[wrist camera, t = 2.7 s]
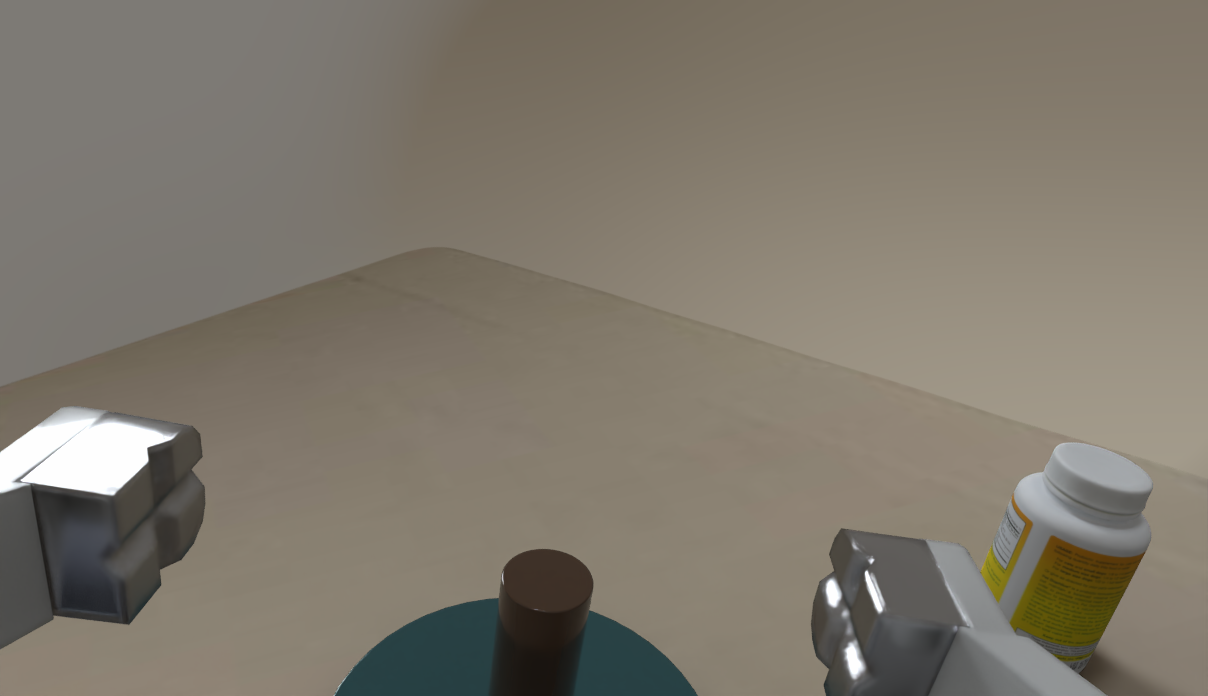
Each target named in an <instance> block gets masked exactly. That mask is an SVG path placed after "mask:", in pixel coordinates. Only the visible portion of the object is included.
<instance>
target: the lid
mask: <svg viewBox="0 0 1208 696" xmlns="http://www.w3.org/2000/svg"><path fill="white" fill-rule="evenodd" d="M592 592H593V578H592V575H591V573H590V571H589V570H588V568H587V567H586V566H585V565H584V564H583V563H582V562H581V561H580V560H578V559H577V558H575V557H573V556H571V555H569V554H567V553H564V552H561V551H557V550H551V549H536V550H530V551H526V552H523V553H521V554H518V555H517V556H515V557H513V558H512V559H511V560H510V561H509V562H508V563H507V564H506V566H505V567H504V569H503V571H502V576H501V584H500V593H499V598H494V599H485V600H478V601H472V602H466V603H462V604H458V605H455V606H451V607H447V608H444V609H441V610H439V611H436V612H433V613H430V614H428V615H425V616H423V617H421V618H419V619H417V620H415V621H413V622H411V623H409V624H407V625H405V626H403V627H402V628H400V629H399V630H397V631H395V632H394V633H392V634H391V635H389V636H387V637H386V638H385V639H384V640H382V641H381V642H380V643H379V644H377V645H376V646H375V647H374V648H372V649H371V650H370V651H369V652H368V653H367V654H366V655H365V656H364V657H363V658H362V659H361V660H360V661H359V662H358V663H357V664H356V665H355V666H354V667H353V668H352V670H351V671H350V672H349V674H348V675H347V676H346V677H345V679H344V680H343V681H342V683H341V684H340V685H339V687H338V689H337V690H336V692H335V694H334V696H697V694H696V692H695V690H694V689H693V688H692V686H691V685H690V684H689V682H688V681H687V680H686V678H685V677H684V675H683V674H682V673H681V672H680V671H679V670H678V669H677V667H676V666H675V665H674V664H673V663H672V662H671V661H670V660H669V659H668V658H667V657H666V656H665V655H664V654H663V653H661V652H660V651H659V650H658V649H657V648H656V647H654V646H653V645H652V644H651V643H650V642H648V641H647V640H645V639H644V638H642V637H641V636H639V635H638V634H637V633H635V632H634V631H632V630H630V629H629V628H627V627H625V626H623V625H621V624H619V623H618V622H616V621H614V620H612V619H609V618H607V617H605V616H602V615H600V614H598V613H595V612H593V611H590V610H589V609H590V604H591V598H592Z"/></svg>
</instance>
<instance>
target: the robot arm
mask: <svg viewBox="0 0 1208 696" xmlns="http://www.w3.org/2000/svg"><path fill="white" fill-rule="evenodd" d="M202 457H203V456H202V446H201V437H200V433H199V432H198V431H197V430H196V429H195V428H194V427H193V426H189V425H183V424H178V423H172V422H167V421H161V420H155V419H150V418H144V417H138V416H133V415H127V414H121V413H116V412H115V413H112V412H109V411H104V410H98V409H91V408H84V407H78V406H72V407H62V408H61V409H60V410H58V411H57V412H56V413H54V414H53V415H51V416H50V417H49V418H47V419H46V420H44V421H43V422H42V423H40V424H39V425H38V426H36V427H35V428H33V429H32V430H31V431H29V432H28V433H27V434H25V435H24V436H22V437H21V438H20V439H18V440H17V441H15V442H14V443H13V444H11V445H10V446H9V447H7V448H6V449H4V450H3V451H2V452H0V649H2V648H3V647H5V646H7V645H9V644H11V643H12V642H14V641H16V640H18V639H19V638H21V637H23V636H25V635H27V634H28V633H30V632H32V631H34V630H35V629H37V628H39V627H41V626H43V625H44V624H46V623H48V622H50V621H51V620H53V618H54V617H53V615H54V616H62V617H70V618H78V619H86V620H95V621H103V622H111V623H119V624H128V625H129V624H130V623H131V622H132V621H133V619H134V618H135V617H136V616H137V614H138V613H139V612H140V611H141V609H142V608H143V607H144V606H145V604H146V603H147V602H148V601H149V600H150V598H151V597H152V596H153V595H154V593H155V592H156V591H157V590H158V588H159V587H160V586H161V576H160V569H163V568H165V567H167V566H169V565H171V564H173V563H176V562H178V561H180V560H182V558H183V557H184V556H185V554H186V553H187V552H188V550H189V549H190V548H191V546H192V545H193V544H194V542H195V539H196V537H197V534H198V532H199V529H200V527H201V524H202V522H203V516H204V509H205V486H204V485H203V484H202V483H201V481H200V480H199V479H198V478H197V476H196V475H195V474H194V472H193V471H192V470H191V469H192V468H193V467H194V466H195V465H196V464H197V462H198V461H199V460H200V459H201V458H202ZM829 555H830V558H831V562H832V565H833V568H834V571H833V572H832V573H831V574H829V575H828V576H827V577H825V578H824V579H822V580H821V581H820V582H819V585H818V588H817V592H816V595H815V598H814V602H813V610H812V620H811V629H812V641H813V645H814V649H815V653H816V657H817V658H818V659H819V660H820V661H821V662H822V663H823V664H824V665H825V666H826V667H827V668H828V669H829V671H828V674H827V677H826V680H825V683H824V689H825V693H826V696H1107V695H1106V694H1105V693H1103V692H1102V691H1101V690H1099V689H1098V688H1097V687H1095V686H1094V685H1093V684H1091V683H1090V682H1089V681H1087V680H1086V679H1084V678H1083V677H1082V676H1080V675H1079V674H1078V673H1076V672H1075V671H1074V670H1072V669H1071V668H1070V667H1068V666H1067V665H1066V664H1064V663H1063V662H1062V661H1060V660H1059V659H1058V658H1056V657H1055V656H1053V655H1052V654H1051V653H1049V652H1048V651H1047V650H1045V649H1044V648H1043V647H1041V646H1040V645H1039V644H1037V643H1036V642H1035V641H1033V640H1032V639H1031V638H1029V637H1023V636H1017V635H1016V633H1015V632H1014V630H1013V628H1012V626H1011V625H1010V623H1009V621H1008V620H1007V618H1006V616H1005V614H1004V613H1003V611H1002V609H1001V607H1000V606H999V604H998V602H997V601H996V599H995V597H994V595H993V594H992V592H991V590H990V588H989V587H988V585H987V583H986V581H985V580H984V578H983V576H982V575H981V573H980V571H979V569H978V568H977V566H976V564H975V562H974V561H973V559H972V557H971V556H970V554H969V552H968V550H967V549H966V548H964V547H963V546H962V545H960V544H959V543H952V542H944V541H935V540H927V539H913V538H906V537H899V536H892V535H885V534H878V533H871V532H863V531H856V530H849V529H842V528H841V530H840V531H839V533H838V534H837V535H836V537H835V539H834V542H833V544H832V547H831V550H830V553H829Z"/></svg>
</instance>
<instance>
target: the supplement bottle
mask: <svg viewBox="0 0 1208 696" xmlns="http://www.w3.org/2000/svg"><path fill="white" fill-rule="evenodd" d="M1152 489H1153V482H1152V480H1151V478H1150V477H1149V475H1148V474H1147V473H1146V472H1145V471H1144V470H1143V469H1141V468H1140V467H1139V466H1138V465H1136V464H1135V463H1133V462H1131V461H1130V460H1128V459H1126V458H1124V457H1122V456H1120V455H1118V454H1116V453H1113V452H1111V451H1109V450H1106V449H1103V448H1100V447H1096V446H1093V445H1088V444H1083V443H1063V444H1060V445H1058V446H1057V447H1056V448H1055V449H1054V451H1053V453H1052V456H1051V458H1050V460H1049V462H1048V463H1047V464H1046V466H1045V470H1044V472H1041V473H1035V474H1031V475H1029V476H1027V477H1025V478H1023V479H1022V480H1021V481H1020V482H1019V484H1018V485H1017V487H1016V489H1015V491H1014V493H1013V496H1012V498H1011V500H1010V503H1009V505H1008V507H1007V510H1006V512H1005V515H1004V517H1003V520H1002V522H1001V524H1000V527H999V529H998V531H997V534H996V536H995V539H994V541H993V543H992V546H991V548H990V550H989V553H988V555H987V558H986V560H985V563H984V565H983V567H982V570H981V572H980V573H981V575H982V576H983V578H984V580H985V581H986V583H987V585H988V587H989V588H990V590H991V592H992V594H993V595H994V597H995V599H996V601H997V602H998V604H999V606H1000V607H1001V609H1002V611H1003V613H1004V614H1005V616H1006V618H1007V620H1008V621H1009V623H1010V625H1011V626H1012V628H1013V630H1014V632H1015V633H1016V635H1017V636H1023V637H1029V638H1031V639H1032V640H1033V641H1035V642H1036V643H1037V644H1039V645H1040V646H1041V647H1043V648H1044V649H1045V650H1047V651H1048V652H1049V653H1051V654H1052V655H1053V656H1055V657H1056V658H1058V659H1059V660H1060V661H1062V662H1063V663H1064V664H1066V665H1067V666H1068V667H1070V668H1071V669H1072V670H1074V671H1075V672H1076V673H1079V672H1081V671H1082V670H1083V669H1084V668H1085V666H1086V665H1087V663H1088V661H1089V659H1090V657H1091V656H1092V654H1093V652H1094V650H1095V648H1096V646H1097V644H1098V642H1099V640H1100V638H1101V636H1102V635H1103V633H1104V631H1105V629H1106V627H1107V625H1108V623H1109V621H1110V619H1111V617H1112V615H1113V613H1114V612H1115V610H1116V608H1117V606H1118V604H1119V602H1120V600H1121V598H1122V596H1123V594H1124V592H1125V590H1126V589H1127V587H1128V585H1129V583H1130V581H1131V579H1132V577H1133V575H1134V573H1135V571H1136V569H1137V567H1138V565H1139V563H1140V561H1141V559H1142V558H1143V556H1144V554H1145V552H1146V550H1147V548H1148V546H1149V543H1150V541H1151V530H1150V526H1149V524H1148V522H1147V520H1146V519H1145V517H1144V516H1143V515H1142V513H1141V512H1142V511H1143V509H1144V508H1145V506H1146V501H1147V499H1148V497H1149V495H1150V493H1151V491H1152Z"/></svg>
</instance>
